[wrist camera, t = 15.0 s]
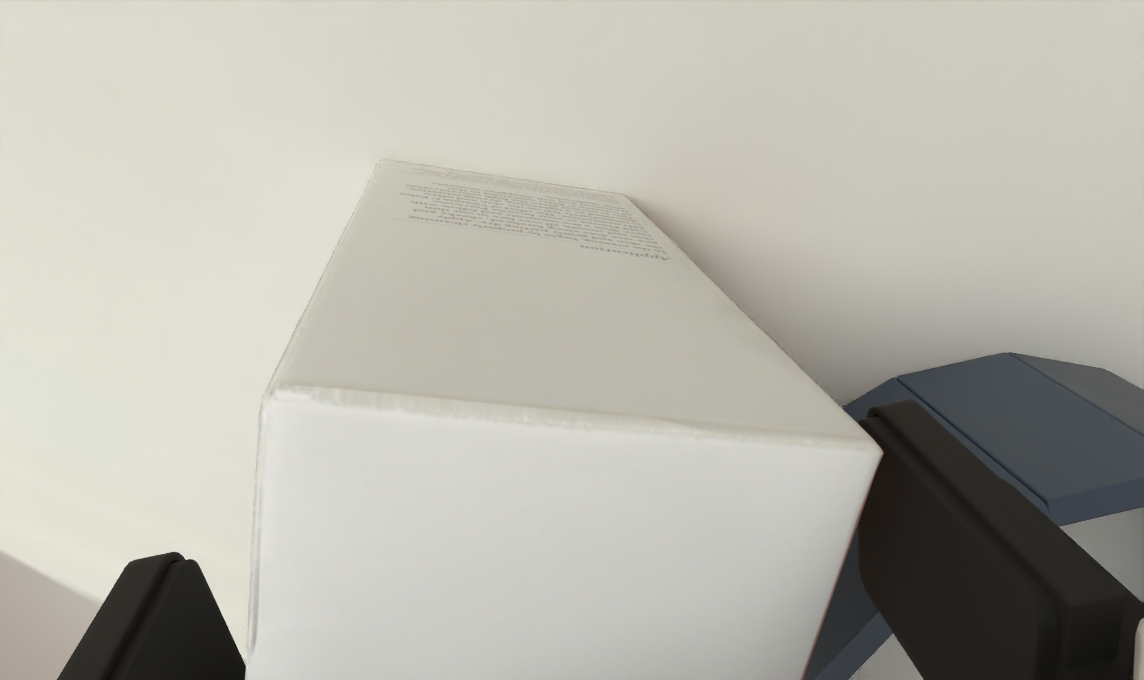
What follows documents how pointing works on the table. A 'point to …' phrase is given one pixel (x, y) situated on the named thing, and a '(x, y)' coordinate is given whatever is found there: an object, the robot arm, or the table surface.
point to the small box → (539, 455)
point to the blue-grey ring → (1005, 462)
